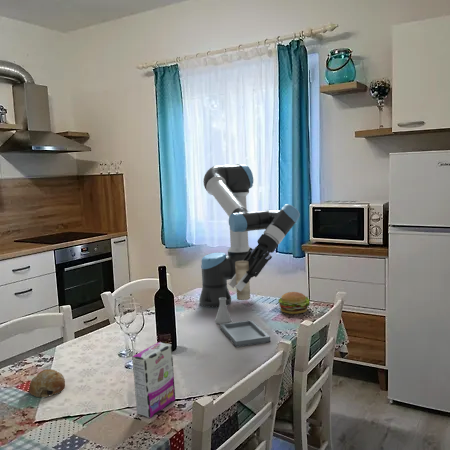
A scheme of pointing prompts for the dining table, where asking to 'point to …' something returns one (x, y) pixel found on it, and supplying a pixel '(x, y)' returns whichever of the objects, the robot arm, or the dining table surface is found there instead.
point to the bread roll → (47, 383)
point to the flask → (223, 313)
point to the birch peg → (240, 271)
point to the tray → (245, 333)
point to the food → (293, 303)
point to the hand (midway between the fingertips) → (234, 287)
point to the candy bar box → (153, 379)
